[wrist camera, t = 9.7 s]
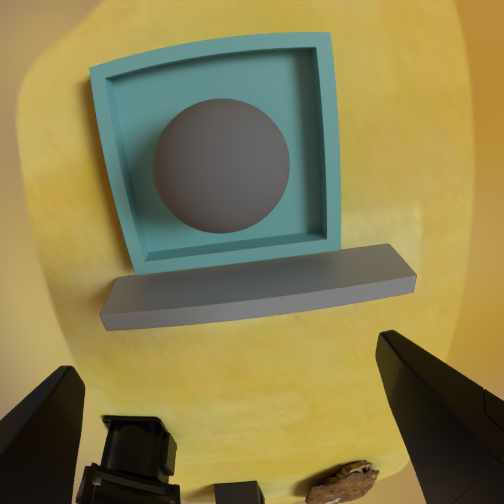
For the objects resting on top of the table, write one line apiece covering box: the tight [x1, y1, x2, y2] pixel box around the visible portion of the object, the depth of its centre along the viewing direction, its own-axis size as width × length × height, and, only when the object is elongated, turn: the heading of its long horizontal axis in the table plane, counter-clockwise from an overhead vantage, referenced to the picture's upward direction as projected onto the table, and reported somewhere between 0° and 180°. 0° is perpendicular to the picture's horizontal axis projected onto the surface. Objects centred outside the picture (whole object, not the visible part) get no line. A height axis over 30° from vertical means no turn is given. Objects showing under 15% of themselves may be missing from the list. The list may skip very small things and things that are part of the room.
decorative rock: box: [305, 460, 380, 504], centre depth 38 cm, size 11×4×15 cm
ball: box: [153, 98, 290, 234], centre depth 14 cm, size 6×6×6 cm
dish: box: [89, 32, 341, 275], centre depth 16 cm, size 12×12×2 cm
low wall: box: [99, 244, 417, 331], centre depth 19 cm, size 18×1×4 cm, turn 96°
